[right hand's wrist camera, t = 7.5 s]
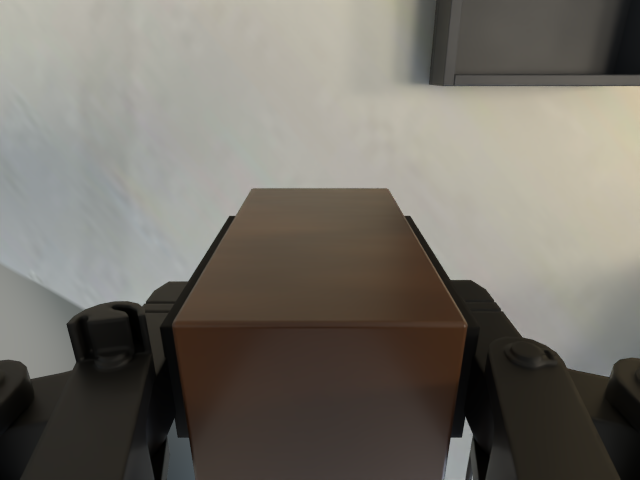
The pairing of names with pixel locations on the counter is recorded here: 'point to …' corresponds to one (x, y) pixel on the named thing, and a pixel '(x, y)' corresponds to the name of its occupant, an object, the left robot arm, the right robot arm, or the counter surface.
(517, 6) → the tray
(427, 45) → the counter surface
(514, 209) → the counter surface
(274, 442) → the block
